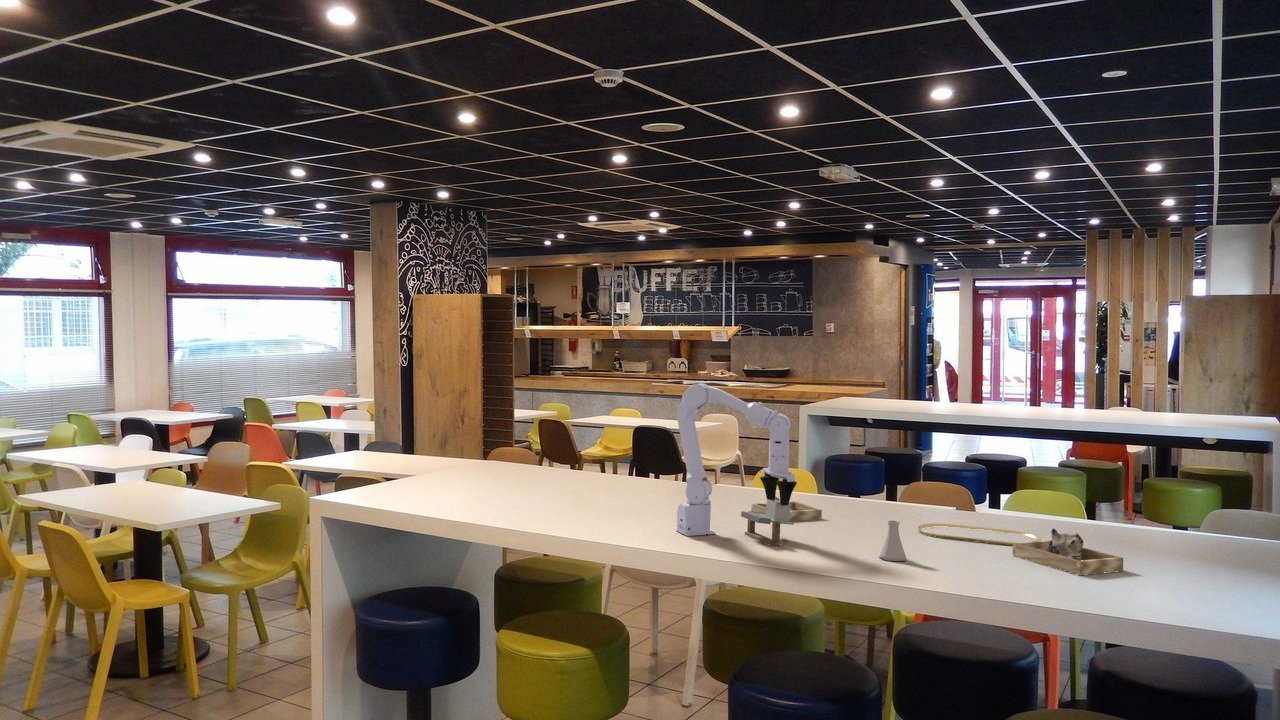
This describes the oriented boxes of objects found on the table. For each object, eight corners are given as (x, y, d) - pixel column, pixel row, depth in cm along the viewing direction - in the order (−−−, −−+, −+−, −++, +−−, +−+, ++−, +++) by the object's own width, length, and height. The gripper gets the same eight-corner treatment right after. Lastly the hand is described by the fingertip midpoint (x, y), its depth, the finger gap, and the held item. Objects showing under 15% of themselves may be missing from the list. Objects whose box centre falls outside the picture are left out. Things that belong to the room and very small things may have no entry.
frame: (773, 546, 247) (773, 522, 247) (743, 534, 263) (744, 511, 262) (781, 545, 248) (782, 521, 248) (751, 533, 264) (752, 510, 263)
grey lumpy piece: (1094, 568, 226) (1084, 529, 227) (1055, 573, 229) (1046, 534, 230) (1085, 557, 241) (1076, 520, 242) (1049, 562, 244) (1040, 526, 245)
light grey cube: (773, 519, 254) (776, 502, 254) (764, 516, 258) (767, 499, 258) (788, 521, 256) (791, 503, 256) (779, 517, 260) (781, 500, 260)
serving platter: (921, 526, 283) (922, 521, 283) (1042, 538, 268) (1042, 533, 268) (913, 537, 266) (913, 531, 266) (1040, 551, 251) (1041, 545, 251)
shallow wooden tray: (1079, 575, 222) (1080, 561, 222) (1012, 555, 242) (1012, 543, 242) (1123, 571, 228) (1123, 557, 228) (1053, 552, 248) (1054, 539, 248)
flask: (875, 555, 240) (876, 518, 240) (902, 556, 239) (903, 519, 239) (882, 561, 232) (883, 523, 232) (910, 562, 232) (911, 524, 232)
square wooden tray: (776, 521, 282) (776, 512, 282) (751, 512, 297) (751, 503, 297) (821, 519, 289) (821, 509, 289) (795, 510, 304) (795, 501, 304)
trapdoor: (759, 523, 248) (760, 518, 248) (739, 515, 259) (740, 510, 259) (793, 526, 252) (794, 521, 252) (772, 518, 263) (772, 513, 263)
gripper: (804, 458, 251) (803, 506, 252) (777, 452, 265) (776, 498, 265) (782, 459, 249) (781, 507, 249) (757, 453, 262) (755, 499, 262)
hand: (777, 503), depth 257 cm, fingers open, 7 cm apart
